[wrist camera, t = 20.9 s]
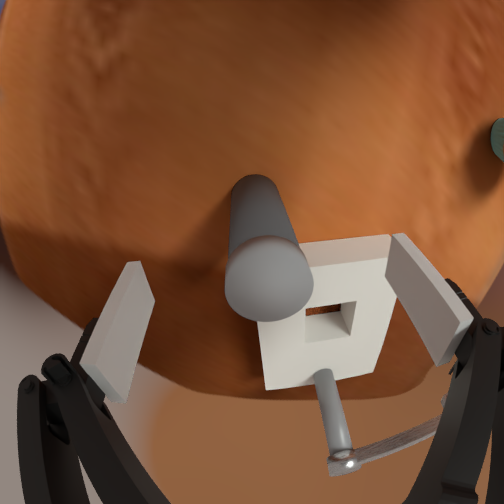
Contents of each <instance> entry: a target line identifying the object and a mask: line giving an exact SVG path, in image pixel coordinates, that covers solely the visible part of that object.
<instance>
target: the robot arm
mask: <svg viewBox="0 0 504 504" xmlns="http://www.w3.org/2000/svg"><path fill="white" fill-rule="evenodd" d="M385 278H386V279H387V281H388V283H389V284H390V286H391V287H392V289H393V291H394V292H395V294H396V295H397V297H398V299H399V300H400V302H401V304H402V305H403V307H404V309H405V310H406V312H407V314H408V316H409V317H410V319H411V321H412V322H413V324H414V326H415V328H416V330H417V331H418V333H419V335H420V337H421V339H422V340H423V342H424V344H425V346H426V348H427V350H428V351H429V353H430V355H431V357H432V359H433V361H434V363H435V365H436V367H437V366H440V365H443V364H446V363H448V362H450V360H451V358H452V356H453V355H454V354H455V355H456V357H457V358H458V359H457V361H456V362H455V364H454V365H453V367H452V369H451V370H450V372H449V374H450V375H451V373H452V372H453V375H452V379H451V384H450V388H449V391H448V395H447V399H446V402H445V406H444V409H443V412H442V415H441V419H440V422H439V425H438V428H437V430H436V433H435V436H434V439H433V441H432V444H431V447H430V449H429V452H428V454H427V457H426V459H425V461H424V464H423V466H422V468H421V470H420V473H419V475H418V477H417V479H416V481H415V483H414V485H413V487H412V489H411V491H410V493H409V495H408V497H407V498H406V500H405V501H404V502H403V503H402V504H477V503H478V495H477V494H476V492H475V486H476V484H477V480H478V478H479V475H480V472H481V468H482V465H483V462H484V458H485V455H486V451H487V447H488V443H489V439H490V435H491V430H492V448H491V464H490V474H489V482H488V489H487V496H486V502H485V504H504V327H499V325H498V324H497V323H496V322H495V321H493V320H491V319H487V318H484V319H483V318H482V317H481V315H480V314H479V313H478V311H477V310H476V308H475V307H474V306H473V304H472V303H471V302H470V301H469V299H467V297H466V295H465V294H464V293H462V290H461V289H460V288H459V287H458V285H457V284H456V283H454V282H453V281H451V280H450V279H448V278H447V279H444V278H443V277H442V276H441V275H440V273H439V272H438V271H437V270H436V269H435V267H434V266H433V265H432V264H431V263H430V262H429V260H428V259H427V258H426V257H425V256H424V255H423V253H422V252H421V251H420V250H419V249H418V248H417V247H416V246H415V245H414V243H413V242H412V241H411V240H410V239H409V238H408V237H407V236H406V235H405V234H404V233H399V234H392V238H391V244H390V250H389V255H388V261H387V266H386V271H385ZM154 303H155V300H154V297H153V294H152V292H151V289H150V287H149V284H148V281H147V278H146V276H145V273H144V270H143V267H142V265H141V262H140V261H133V262H127V264H126V266H125V267H124V269H123V271H122V273H121V275H120V277H119V279H118V281H117V283H116V285H115V287H114V288H113V290H112V292H111V294H110V296H109V298H108V301H107V303H106V305H105V307H104V309H103V311H102V313H101V315H100V317H99V318H93V319H92V320H91V321H90V322H89V323H88V325H87V326H86V328H85V330H84V332H83V336H81V338H80V341H79V343H78V345H77V347H76V350H75V352H74V354H73V356H72V359H71V361H70V362H69V361H68V360H67V358H66V357H65V356H64V355H63V354H54V355H51V356H50V357H48V358H47V359H46V360H45V362H44V363H43V365H42V369H41V373H42V375H43V376H44V377H45V378H46V379H47V380H46V381H40V380H39V379H38V378H37V376H35V375H28V376H26V377H25V378H24V379H23V380H22V381H21V382H20V384H19V388H18V401H17V435H18V437H17V438H18V455H19V466H20V475H21V482H22V488H23V494H24V500H25V504H90V502H89V498H88V495H87V492H86V488H85V484H84V480H83V476H82V472H81V468H80V463H79V459H80V461H81V463H82V465H83V467H84V469H85V471H86V473H87V475H88V477H89V479H90V481H91V482H92V485H93V487H94V488H95V490H96V492H97V494H98V496H99V497H100V499H101V501H102V502H103V504H171V503H170V502H169V501H168V499H167V498H166V497H165V496H164V494H163V493H162V492H161V491H160V489H159V488H158V487H157V485H156V484H155V483H154V482H153V480H152V479H151V477H150V476H149V475H148V473H147V472H146V470H145V469H144V467H143V466H142V465H141V463H140V462H139V460H138V458H137V457H136V455H135V454H134V452H133V451H132V449H131V448H130V446H129V444H128V443H127V441H126V440H125V438H124V436H123V434H122V433H121V431H120V430H119V428H118V426H117V424H116V422H115V420H114V419H113V417H112V415H111V413H110V411H109V409H108V407H107V406H106V404H105V403H104V402H103V401H104V398H105V395H106V396H107V397H108V399H109V400H110V401H111V402H118V403H127V399H128V395H129V391H130V387H131V383H132V379H133V375H134V371H135V368H136V364H137V360H138V357H139V353H140V350H141V346H142V343H143V339H144V336H145V332H146V329H147V326H148V322H149V319H150V316H151V313H152V310H153V306H154ZM78 456H79V458H78Z"/></svg>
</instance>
